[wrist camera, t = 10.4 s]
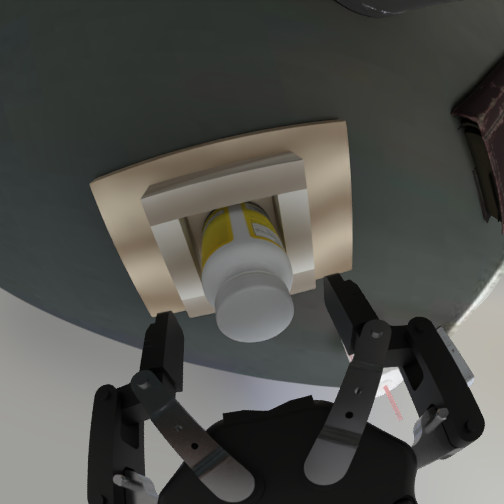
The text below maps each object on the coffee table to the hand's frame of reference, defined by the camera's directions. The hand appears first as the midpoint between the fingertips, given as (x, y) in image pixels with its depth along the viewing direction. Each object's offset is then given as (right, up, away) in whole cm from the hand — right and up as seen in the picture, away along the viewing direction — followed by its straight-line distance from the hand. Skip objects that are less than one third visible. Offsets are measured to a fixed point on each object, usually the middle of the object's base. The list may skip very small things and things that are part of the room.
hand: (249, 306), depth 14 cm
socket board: (-1, +5, +9) cm, 11 cm away
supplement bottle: (-1, +5, +8) cm, 9 cm away
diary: (+35, +20, +7) cm, 41 cm away
